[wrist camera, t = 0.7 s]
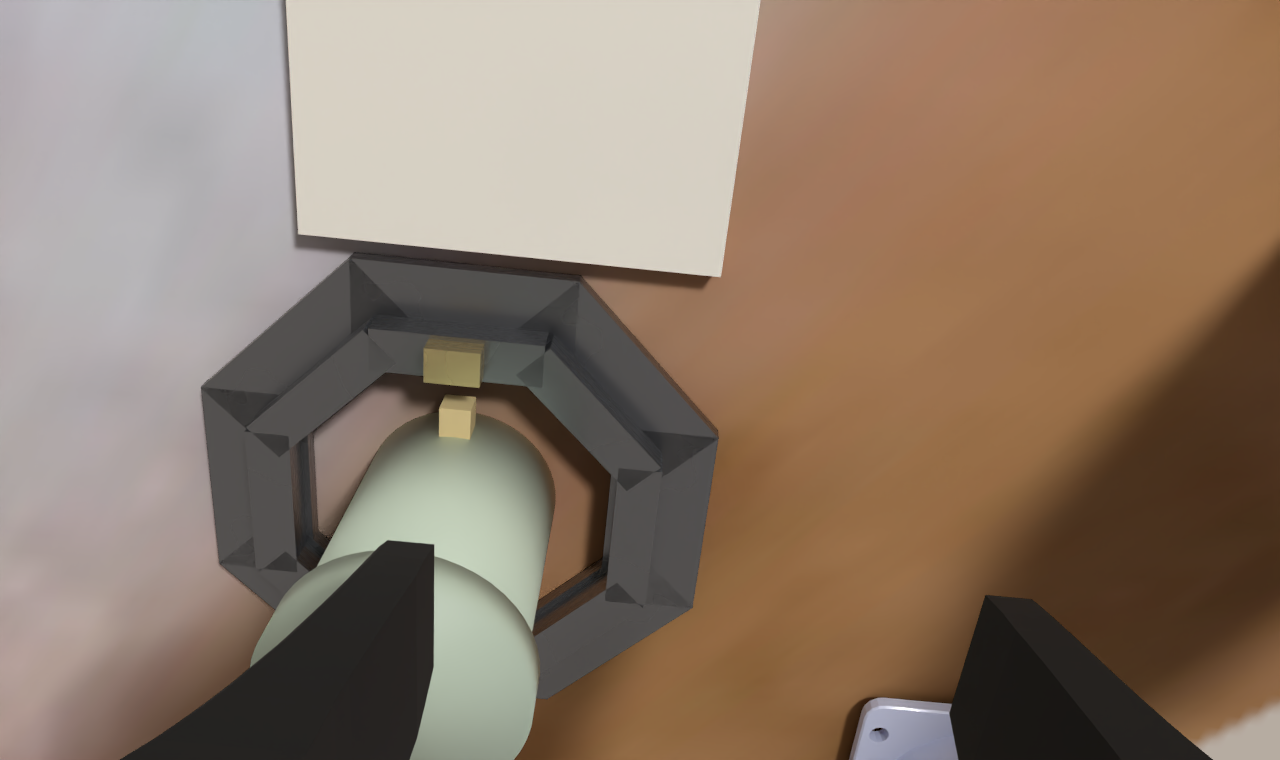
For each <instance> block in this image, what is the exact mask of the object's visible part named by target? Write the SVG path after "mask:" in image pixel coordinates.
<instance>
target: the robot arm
mask: <svg viewBox="0 0 1280 760" xmlns="http://www.w3.org/2000/svg"><path fill="white" fill-rule="evenodd" d="M433 668H434V544H425V543H414V542H403V541H393V540H387V541H386V542H384V543H383V544H382V545H380V546H379V547H378V548H377V549H376V550H375V551H374V552H373V553H372V554H371V555H370V556H369V557H368V558H367V559H366V560H365V561H364V562H363V563H362V564H361V566H360V567H359V568H358V569H357V570H356V571H355V572H354V573H353V574H352V575H351V576H350V577H349V578H348V579H347V580H346V581H345V582H344V583H343V584H342V585H341V586H340V587H339V588H338V589H337V590H336V591H335V592H334V593H333V594H332V595H331V596H330V597H329V598H328V599H327V600H326V601H324V602H323V603H322V604H321V605H320V606H319V607H318V608H317V609H316V610H315V611H314V612H313V613H312V614H311V615H309V616H308V617H307V618H306V619H305V620H304V621H303V622H302V623H301V624H300V625H299V626H298V627H297V628H295V629H294V630H293V631H292V632H291V633H290V634H289V635H288V636H287V637H286V638H285V639H283V640H282V641H281V642H280V643H279V644H278V645H277V646H275V647H274V648H273V649H272V650H271V651H269V652H268V653H267V654H266V655H265V656H263V657H262V658H261V659H260V660H259V661H257V662H256V663H255V664H254V665H253V666H251V667H250V668H249V669H248V670H247V671H245V672H244V673H243V674H242V675H241V676H239V677H238V678H237V679H236V680H235V681H233V682H232V683H231V684H230V685H228V686H227V687H226V688H224V689H223V690H222V691H220V692H219V693H218V694H217V695H215V696H214V697H213V698H211V699H210V700H209V701H207V702H206V703H205V704H203V705H202V706H201V707H199V708H198V709H196V710H195V711H194V712H192V713H191V714H189V715H188V716H187V717H185V718H184V719H182V720H181V721H179V722H178V723H177V724H175V725H174V726H172V727H171V728H169V729H168V730H167V731H165V732H164V733H162V734H161V735H159V736H158V737H156V738H155V739H153V740H151V741H150V742H148V743H147V744H145V745H143V746H142V747H140V748H138V749H137V750H135V751H133V752H132V753H130V754H128V755H127V756H125V757H123V758H122V759H120V760H410V757H411V754H412V751H413V748H414V746H415V743H416V740H417V736H418V732H419V728H420V724H421V720H422V716H423V712H424V708H425V703H426V699H427V694H428V690H429V686H430V681H431V677H432V672H433ZM875 728H883V729H882V730H880V731H872V730H873V729H875ZM849 760H1213V759H1211V758H1210V757H1209V756H1208V755H1206V754H1205V753H1204V752H1203V751H1202V750H1200V749H1199V748H1198V747H1197V746H1195V745H1194V744H1193V743H1192V742H1191V741H1189V740H1188V739H1187V738H1186V737H1185V736H1183V735H1182V734H1181V733H1180V732H1179V731H1178V730H1176V729H1175V728H1174V727H1173V726H1172V725H1171V724H1170V723H1168V722H1167V721H1166V720H1165V719H1164V718H1163V717H1161V716H1160V715H1159V714H1158V713H1157V712H1156V711H1155V710H1154V709H1152V708H1151V707H1150V706H1149V705H1148V704H1147V703H1146V702H1145V701H1143V700H1142V699H1141V698H1140V697H1139V696H1138V695H1137V694H1136V693H1135V692H1133V691H1132V690H1131V689H1130V688H1129V687H1128V686H1127V685H1126V684H1125V683H1124V682H1122V681H1121V680H1120V679H1119V678H1118V677H1117V676H1116V675H1115V674H1114V673H1113V672H1112V671H1110V670H1109V669H1108V668H1107V667H1106V666H1105V665H1104V664H1103V663H1102V662H1101V661H1100V660H1099V659H1098V658H1096V657H1095V656H1094V655H1093V654H1092V653H1091V652H1090V651H1089V650H1088V649H1087V648H1086V647H1085V646H1084V645H1082V644H1081V643H1080V642H1079V641H1078V640H1077V639H1076V638H1075V637H1074V636H1073V635H1072V634H1071V633H1070V632H1068V631H1067V630H1066V629H1065V628H1064V627H1063V626H1062V625H1061V624H1060V623H1059V622H1058V621H1056V620H1055V619H1054V618H1053V617H1052V616H1051V615H1050V614H1049V613H1047V612H1046V611H1045V610H1044V609H1043V608H1042V607H1040V606H1039V605H1038V604H1037V603H1036V602H1034V601H1033V600H1032V599H1023V598H1012V597H1001V596H990V595H985V598H984V602H983V605H982V608H981V611H980V615H979V618H978V621H977V624H976V628H975V631H974V634H973V637H972V641H971V644H970V647H969V650H968V654H967V657H966V660H965V663H964V667H963V670H962V673H961V676H960V680H959V683H958V686H957V689H956V693H955V696H954V699H953V702H952V704H947V703H936V702H925V701H915V700H904V699H893V698H876V699H873V700H870V701H869V702H868V703H866V704H865V705H864V707H863V709H862V712H861V715H860V719H859V723H858V727H857V731H856V735H855V738H854V742H853V746H852V750H851V754H850V757H849Z"/></svg>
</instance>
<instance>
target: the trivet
mask: <svg viewBox="0 0 1280 760" xmlns="http://www.w3.org/2000/svg"><path fill="white" fill-rule="evenodd" d="M759 7H760V0H286V15H287V34H288V52H289V71H290V90H291V109H292V128H293V146H294V165H295V184H296V203H297V222H298V234H302V235H312V236H322V237H332V238H341V239H351V240H361V241H371V242H381V243H390V244H400V245H410V246H420V247H430V248H439V249H449V250H459V251H469V252H479V253H488V254H498V255H508V256H518V257H528V258H537V259H547V260H557V261H567V262H576V263H586V264H596V265H606V266H616V267H625V268H635V269H645V270H655V271H665V272H674V273H684V274H694V275H704V276H714V277H721V272H722V265H723V258H724V251H725V244H726V237H727V230H728V223H729V216H730V209H731V202H732V195H733V188H734V181H735V174H736V168H737V161H738V154H739V147H740V140H741V133H742V126H743V119H744V112H745V105H746V98H747V91H748V84H749V77H750V70H751V63H752V56H753V49H754V42H755V35H756V28H757V21H758V14H759Z"/></svg>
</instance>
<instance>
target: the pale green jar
mask: <svg viewBox="0 0 1280 760" xmlns="http://www.w3.org/2000/svg"><path fill="white" fill-rule="evenodd" d="M554 509H555V486H554V481H553V478H552V475H551V471H550V469H549V467H548V465H547V463H546V461H545V460H544V458H543V456H542V455H541V453H540V452H539V451H538V450H537V448H536V447H535V446H534V445H533V444H532V443H531V442H530V441H529V440H528V439H527V438H526V437H525V436H524V435H522V434H521V433H520V432H518V431H517V430H515V429H514V428H512V427H511V426H509V425H507V424H505V423H503V422H501V421H499V420H496V419H494V418H491V417H488V416H485V415H481V414H478V413H476V397H470V396H460V395H450V394H445V396H444V399H443V401H442V403H441V405H440V408H439V412H436V413H431V414H427V415H424V416H421V417H418V418H415V419H413V420H411V421H409V422H407V423H405V424H404V425H402V426H401V427H399V428H398V429H396V430H395V431H394V432H393V433H392V434H391V435H389V436H388V437H387V439H386V440H385V441H384V442H383V444H382V445H381V446H380V448H379V450H378V451H377V453H376V455H375V457H374V459H373V461H372V462H371V464H370V466H369V468H368V470H367V472H366V474H365V476H364V478H363V480H362V481H361V483H360V485H359V487H358V489H357V491H356V493H355V495H354V497H353V499H352V501H351V502H350V504H349V506H348V508H347V510H346V512H345V514H344V516H343V518H342V520H341V522H340V523H339V525H338V527H337V529H336V531H335V533H334V535H333V537H332V539H331V541H330V542H329V544H328V546H327V548H326V550H325V552H324V554H323V556H322V558H321V560H320V562H319V563H318V565H317V567H316V568H315V569H313V570H312V571H310V572H308V573H307V574H305V575H304V576H303V577H302V578H300V579H299V580H298V581H297V582H296V583H295V584H294V585H293V586H292V587H291V588H290V589H289V590H288V592H287V593H286V594H285V595H284V596H283V598H282V600H281V601H280V603H279V605H278V607H277V608H276V610H275V612H274V614H273V616H272V617H271V619H270V621H269V623H268V625H267V627H266V628H265V630H264V632H263V634H262V636H261V637H260V639H259V641H258V643H257V645H256V647H255V650H254V653H253V656H252V658H251V664H250V667H251V666H253V665H254V664H255V663H256V662H257V661H259V660H260V659H261V658H262V657H263V656H265V655H266V654H267V653H268V652H269V651H271V650H272V649H273V648H274V647H275V646H277V645H278V644H279V643H280V642H281V641H282V640H283V639H285V638H286V637H287V636H288V635H289V634H290V633H291V632H292V631H293V630H294V629H295V628H297V627H298V626H299V625H300V624H301V623H302V622H303V621H304V620H305V619H306V618H307V617H308V616H309V615H311V614H312V613H313V612H314V611H315V610H316V609H317V608H318V607H319V606H320V605H321V604H322V603H323V602H324V601H326V600H327V599H328V598H329V597H330V596H331V595H332V594H333V593H334V592H335V591H336V590H337V589H338V588H339V587H340V586H341V585H342V584H343V583H344V582H345V581H346V580H347V579H348V578H349V577H350V576H351V575H352V574H353V573H354V572H355V571H356V570H357V569H358V568H359V567H360V566H361V564H362V563H363V562H364V561H365V560H366V559H367V558H368V557H369V556H370V555H371V554H372V553H373V552H374V551H375V550H376V549H377V548H378V547H379V546H380V545H382V544H383V543H384V542H386V541H387V540H393V541H403V542H414V543H425V544H434V668H433V672H432V677H431V681H430V686H429V690H428V694H427V699H426V703H425V708H424V712H423V716H422V720H421V724H420V728H419V732H418V736H417V740H416V743H415V746H414V748H413V751H412V754H411V757H410V760H514V759H515V757H516V756H517V755H518V754H519V752H520V751H521V749H522V747H523V746H524V744H525V742H526V740H527V738H528V735H529V732H530V729H531V726H532V720H533V714H534V708H535V702H536V696H537V689H538V683H539V677H540V659H539V654H538V648H537V645H536V642H535V639H534V636H533V633H532V630H533V625H534V619H535V614H536V608H537V603H538V597H539V592H540V586H541V581H542V575H543V570H544V564H545V559H546V553H547V548H548V542H549V537H550V531H551V526H552V520H553V515H554Z"/></svg>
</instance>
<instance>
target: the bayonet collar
mask: <svg viewBox="0 0 1280 760" xmlns="http://www.w3.org/2000/svg"><path fill="white" fill-rule="evenodd" d="M385 372H388V373H398V374H408V375H418V376H423V382H424V383H434V384H444V385H455V386H465V387H475V388H480V385H481V383H482V382H489V383H499V384H509V385H519V386H527V387H528V388H529V389H530V390H531V391H532V392H533V393H534V395H535V396H536V397H537V398H538V399H539V400H540V401H541V402H542V403H543V404H544V405H545V406H546V407H547V408H548V409H549V410H550V411H551V412H552V413H553V414H554V415H555V416H556V418H557V419H558V420H559V421H560V422H561V423H562V424H563V425H564V426H565V427H566V428H567V429H568V430H569V431H570V432H571V433H572V434H573V435H574V436H575V437H576V438H577V439H578V441H579V442H580V443H581V444H582V445H583V446H584V447H585V448H586V449H587V450H588V451H589V452H590V453H591V454H592V455H593V456H594V457H595V458H596V459H597V460H598V461H599V462H600V464H601V465H602V466H603V467H604V468H605V469H606V470H607V471H608V472H609V473H610V474H611V481H610V491H609V501H608V511H607V521H606V531H605V540H604V550H603V558H602V559H600V560H599V561H597V562H596V563H594V564H593V565H591V566H590V567H588V568H587V569H585V570H584V571H582V572H581V573H579V574H578V575H576V576H575V577H573V578H572V579H570V580H569V581H567V582H566V583H564V584H563V585H561V586H560V587H558V588H557V589H555V590H554V591H552V592H551V593H549V594H548V595H546V596H545V597H543V598H542V599H540V600H539V601H538V603H537V608H536V614H535V619H534V625H533V630H532V633H533V636H534V639H535V642H536V645H537V648H538V654H539V659H540V677H539V683H538V689H537V696H536V698H539V699H548V698H550V697H551V696H553V695H554V694H556V693H558V692H559V691H561V690H562V689H564V688H566V687H567V686H569V685H570V684H572V683H573V682H575V681H577V680H578V679H580V678H581V677H583V676H585V675H586V674H588V673H589V672H591V671H593V670H594V669H596V668H597V667H599V666H601V665H602V664H604V663H605V662H607V661H608V660H610V659H612V658H613V657H615V656H616V655H618V654H620V653H621V652H623V651H624V650H626V649H628V648H629V647H631V646H632V645H634V644H635V643H637V642H639V641H640V640H642V639H643V638H645V637H647V636H648V635H650V634H651V633H653V632H655V631H656V630H658V629H659V628H661V627H663V626H664V625H666V624H667V623H669V622H670V621H672V620H674V619H675V618H677V617H678V616H680V615H682V614H683V613H685V612H686V611H688V610H690V609H691V608H693V600H694V594H695V587H696V581H697V574H698V568H699V561H700V555H701V548H702V542H703V535H704V529H705V522H706V516H707V509H708V503H709V496H710V490H711V483H712V477H713V470H714V464H715V457H716V451H717V444H718V439H719V436H718V430H717V429H716V428H715V427H714V426H713V424H712V423H711V422H710V421H709V420H708V419H707V418H706V416H705V415H704V414H703V413H702V412H701V411H700V410H699V409H698V407H697V406H696V405H695V404H694V403H693V402H692V401H691V400H690V398H689V397H688V396H687V395H686V394H685V393H684V392H683V391H682V389H681V388H680V387H679V386H678V385H677V384H676V383H675V381H674V380H673V379H672V378H671V377H670V376H669V375H668V374H667V372H666V371H665V370H664V369H663V368H662V367H661V366H660V365H659V363H658V362H657V361H656V360H655V359H654V358H653V357H652V356H651V354H650V353H649V352H648V351H647V350H646V349H645V348H644V346H643V345H642V344H641V343H640V342H639V341H638V340H637V339H636V337H635V336H634V335H633V334H632V333H631V332H630V331H629V330H628V328H627V327H626V326H625V325H624V324H623V323H622V322H621V321H620V319H619V318H618V317H617V316H616V315H615V314H614V313H613V311H612V310H611V309H610V308H609V307H608V306H607V305H606V304H605V302H604V301H603V300H602V299H601V298H600V297H599V296H598V295H597V293H596V292H595V291H594V290H593V289H592V288H591V287H590V285H589V284H588V283H587V282H586V281H585V280H584V279H583V278H582V276H581V275H572V274H562V273H552V272H542V271H532V270H523V269H513V268H503V267H493V266H483V265H473V264H464V263H454V262H444V261H434V260H424V259H414V258H405V257H395V256H385V255H375V254H365V253H356V252H354V253H353V254H352V255H351V256H350V257H349V258H348V259H347V260H346V261H344V262H343V263H342V264H341V265H340V266H339V267H338V268H336V269H335V270H334V271H333V272H332V273H331V274H330V275H328V276H327V277H326V278H325V279H324V280H323V281H321V282H320V283H319V284H318V285H317V286H316V287H315V288H313V289H312V290H311V291H310V292H309V293H308V294H307V295H305V296H304V297H303V298H302V299H301V300H300V301H298V302H297V303H296V304H295V305H294V306H293V307H292V308H290V309H289V310H288V311H287V312H286V313H285V314H284V315H282V316H281V317H280V318H279V319H278V320H277V321H276V322H274V323H273V324H272V325H271V326H270V327H269V328H267V329H266V330H265V331H264V332H263V333H262V334H261V335H259V336H258V337H257V338H256V339H255V340H254V341H253V342H251V343H250V344H249V345H248V346H247V347H246V348H244V349H243V350H242V351H241V352H240V353H239V354H238V355H236V356H235V357H234V358H233V359H232V360H231V361H230V362H228V363H227V364H226V365H225V366H224V367H223V368H222V369H220V370H219V371H218V372H217V373H216V374H215V375H213V376H212V377H211V378H210V379H208V380H207V381H206V382H205V383H204V384H203V385H202V386H201V392H202V401H203V411H204V420H205V430H206V439H207V449H208V458H209V468H210V477H211V487H212V496H213V506H214V515H215V525H216V534H217V544H218V553H219V563H220V564H221V565H222V566H223V567H225V568H226V569H227V570H228V571H229V572H231V573H232V574H233V575H234V576H235V577H237V578H238V579H239V580H240V581H241V582H243V583H244V584H245V585H246V586H247V587H249V588H250V589H251V590H252V591H253V592H255V593H256V594H257V595H258V596H259V597H261V598H262V599H263V600H264V601H265V602H267V603H268V604H269V605H270V606H271V607H273V608H274V609H275V610H276V608H277V607H278V605H279V603H280V601H281V600H282V598H283V596H284V595H285V594H286V593H287V592H288V590H289V589H290V588H291V587H292V586H293V585H294V584H295V583H296V582H297V581H298V580H299V579H300V578H302V577H303V576H304V575H305V574H307V573H308V572H310V571H312V570H313V569H315V568H316V567H317V565H318V563H319V562H320V560H321V558H322V556H323V554H324V552H325V550H326V548H327V546H328V544H329V542H330V541H329V540H328V539H327V538H326V537H325V536H324V535H323V534H322V533H320V532H319V531H318V515H317V495H316V476H315V456H314V436H313V431H314V430H315V429H316V428H317V427H318V426H320V425H321V424H322V423H323V422H325V421H326V420H327V419H328V418H330V417H331V416H332V415H333V414H335V413H336V412H337V411H338V410H340V409H341V408H342V407H343V406H344V405H346V404H347V403H348V402H349V401H351V400H352V399H353V398H354V397H356V396H357V395H358V394H359V393H361V392H362V391H363V390H364V389H365V388H367V387H368V386H369V385H370V384H372V383H373V382H374V381H375V380H377V379H378V378H379V377H380V376H382V375H383V374H384V373H385Z"/></svg>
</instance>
